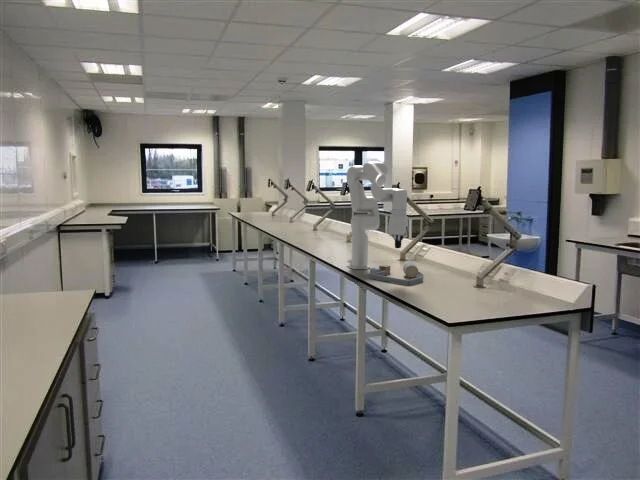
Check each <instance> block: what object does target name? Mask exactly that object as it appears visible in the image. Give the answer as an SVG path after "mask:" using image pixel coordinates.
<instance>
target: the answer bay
mask: <svg viewBox="0 0 640 480" xmlns="http://www.w3.org/2000/svg"><path fill="white" fill-rule="evenodd" d="M385 275H386V276H385ZM369 277H370V280H374V279H376V280H375V281H380V280H382V282H385V281H388V282H387V283H391V282H393V283H392V284H396V283H398V284H397V285H402V284H403V286H412V285H413V286H414V285H416V284H420V283H423V282H424V276H423V277H419V276H417V277H414V278H409V279H402V278H397V277H393V276H387V274H386V271H381V272H376V273H372V274H370V273H369Z"/></svg>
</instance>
